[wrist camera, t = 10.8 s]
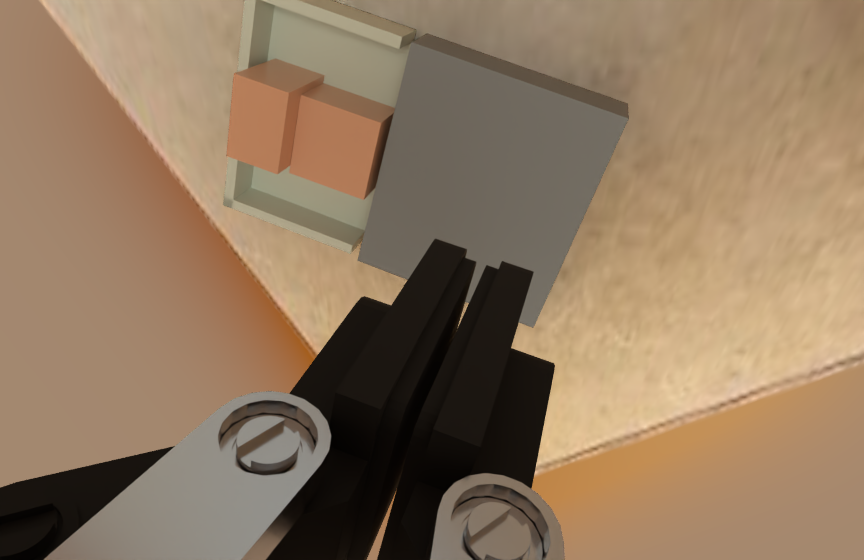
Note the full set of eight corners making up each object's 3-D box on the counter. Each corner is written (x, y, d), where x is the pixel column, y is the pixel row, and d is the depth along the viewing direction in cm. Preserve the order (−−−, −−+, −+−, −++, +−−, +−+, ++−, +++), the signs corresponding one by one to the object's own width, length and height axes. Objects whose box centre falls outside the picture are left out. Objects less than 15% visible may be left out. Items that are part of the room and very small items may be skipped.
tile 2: (398, 109, 35) (381, 123, 32) (380, 181, 37) (363, 199, 35) (323, 83, 35) (300, 94, 33) (311, 156, 38) (289, 172, 35)
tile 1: (288, 92, 31) (233, 73, 31) (277, 174, 33) (226, 155, 34) (324, 75, 35) (275, 58, 35) (312, 149, 37) (266, 133, 38)
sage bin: (416, 30, 33) (402, 36, 31) (365, 236, 40) (350, 253, 37) (270, -21, 34) (246, -18, 31) (244, 190, 40) (223, 205, 38)
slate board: (627, 103, 32) (628, 118, 29) (538, 301, 39) (533, 327, 36) (427, 33, 33) (411, 42, 30) (374, 239, 40) (357, 260, 37)
